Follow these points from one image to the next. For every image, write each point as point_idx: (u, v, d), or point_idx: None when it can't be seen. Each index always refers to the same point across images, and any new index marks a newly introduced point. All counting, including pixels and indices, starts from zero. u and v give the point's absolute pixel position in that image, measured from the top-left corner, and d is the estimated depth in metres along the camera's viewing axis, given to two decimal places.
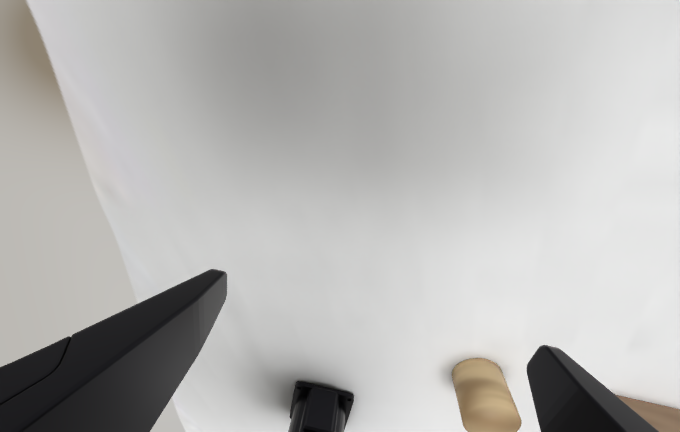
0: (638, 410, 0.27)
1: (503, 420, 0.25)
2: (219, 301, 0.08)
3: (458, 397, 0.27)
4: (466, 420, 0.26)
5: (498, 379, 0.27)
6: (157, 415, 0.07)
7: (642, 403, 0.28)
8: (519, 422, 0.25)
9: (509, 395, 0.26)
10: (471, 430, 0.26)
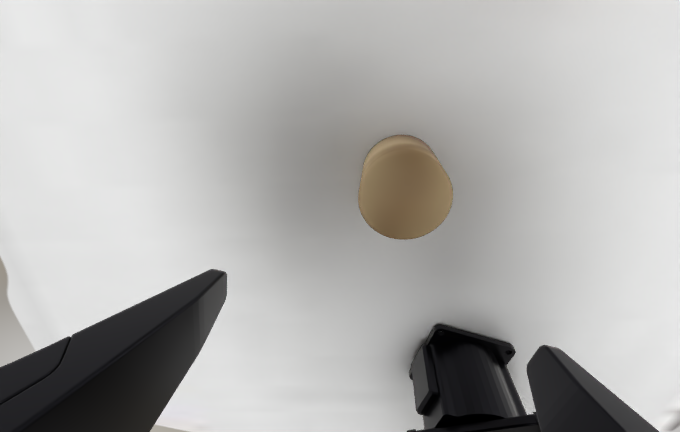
0: None
1: (396, 182, 0.15)
2: (219, 301, 0.08)
3: None
4: (399, 234, 0.16)
5: (367, 161, 0.17)
6: (157, 415, 0.07)
7: None
8: (401, 156, 0.14)
9: (375, 157, 0.16)
10: (427, 226, 0.15)
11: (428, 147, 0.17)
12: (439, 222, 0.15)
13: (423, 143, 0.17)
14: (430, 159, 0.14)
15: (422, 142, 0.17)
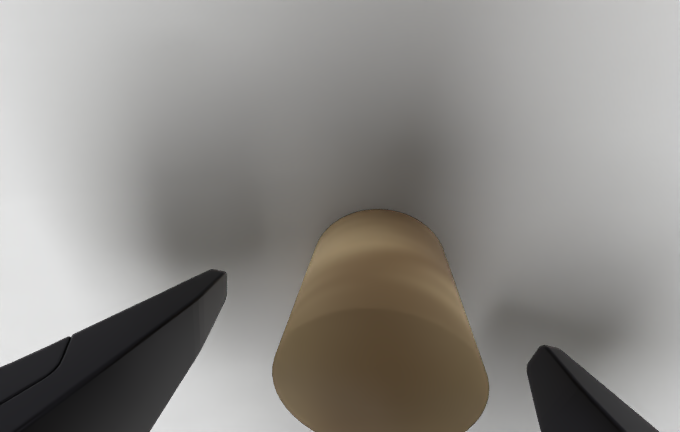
0: None
1: (353, 361, 0.06)
2: (219, 301, 0.08)
3: None
4: None
5: (306, 274, 0.09)
6: (157, 415, 0.07)
7: None
8: (355, 314, 0.06)
9: (312, 282, 0.07)
10: None
11: (426, 236, 0.09)
12: (459, 431, 0.07)
13: (415, 229, 0.09)
14: (428, 319, 0.06)
15: (414, 225, 0.09)
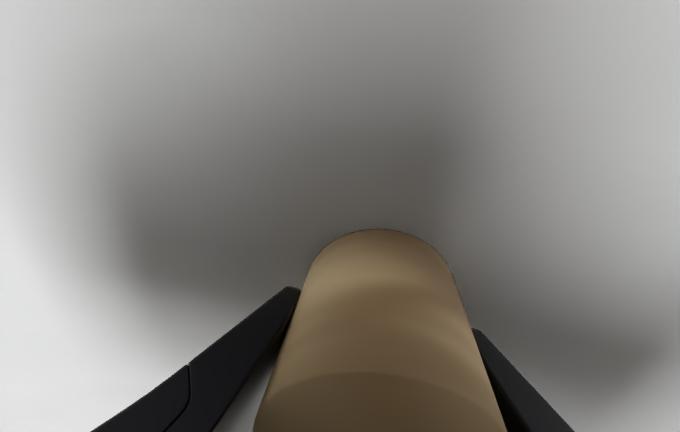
0: None
1: (349, 427, 0.05)
2: None
3: None
4: None
5: (296, 306, 0.08)
6: None
7: None
8: (351, 378, 0.05)
9: (301, 323, 0.06)
10: None
11: (433, 263, 0.08)
12: None
13: (422, 254, 0.08)
14: (442, 385, 0.04)
15: (419, 249, 0.08)
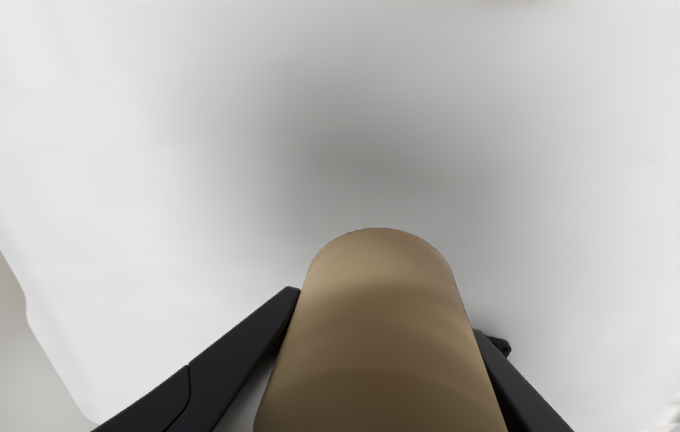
0: None
1: (349, 425, 0.05)
2: None
3: None
4: None
5: (296, 304, 0.08)
6: None
7: None
8: (351, 375, 0.05)
9: (301, 321, 0.06)
10: None
11: (433, 261, 0.08)
12: None
13: (422, 253, 0.08)
14: (442, 383, 0.04)
15: (419, 248, 0.08)
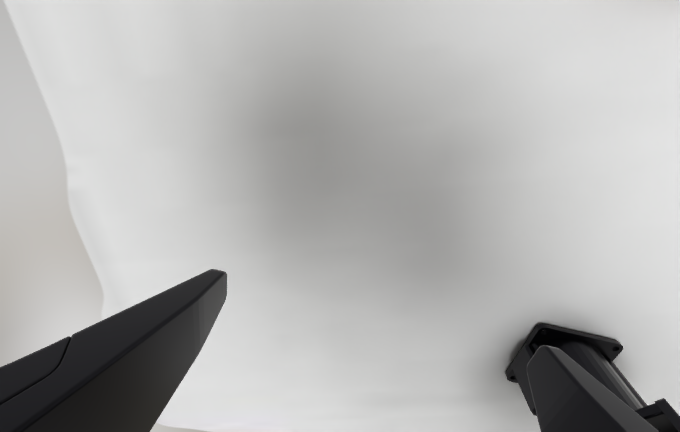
0: None
1: None
2: (219, 301, 0.08)
3: None
4: None
5: None
6: (157, 415, 0.07)
7: None
8: None
9: None
10: None
11: None
12: None
13: None
14: None
15: None
